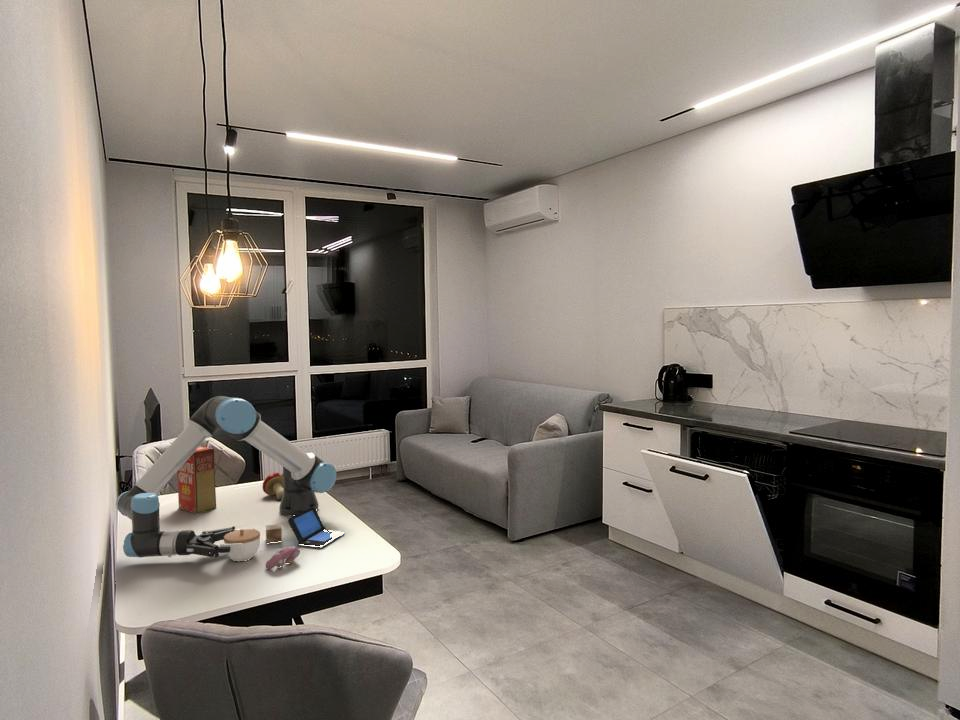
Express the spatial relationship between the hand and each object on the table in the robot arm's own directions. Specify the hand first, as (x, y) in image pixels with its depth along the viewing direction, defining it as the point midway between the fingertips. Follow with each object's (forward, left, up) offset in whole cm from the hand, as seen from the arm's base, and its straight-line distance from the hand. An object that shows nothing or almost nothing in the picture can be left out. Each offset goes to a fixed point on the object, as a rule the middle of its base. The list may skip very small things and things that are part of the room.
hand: (248, 540), depth 186 cm
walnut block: (-8, -14, -6) cm, 17 cm away
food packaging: (+21, -66, -6) cm, 69 cm away
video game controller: (-10, +10, -6) cm, 16 cm away
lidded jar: (+2, -1, -6) cm, 6 cm away
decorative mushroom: (-10, -71, -6) cm, 72 cm away
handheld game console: (-22, -10, -6) cm, 25 cm away
